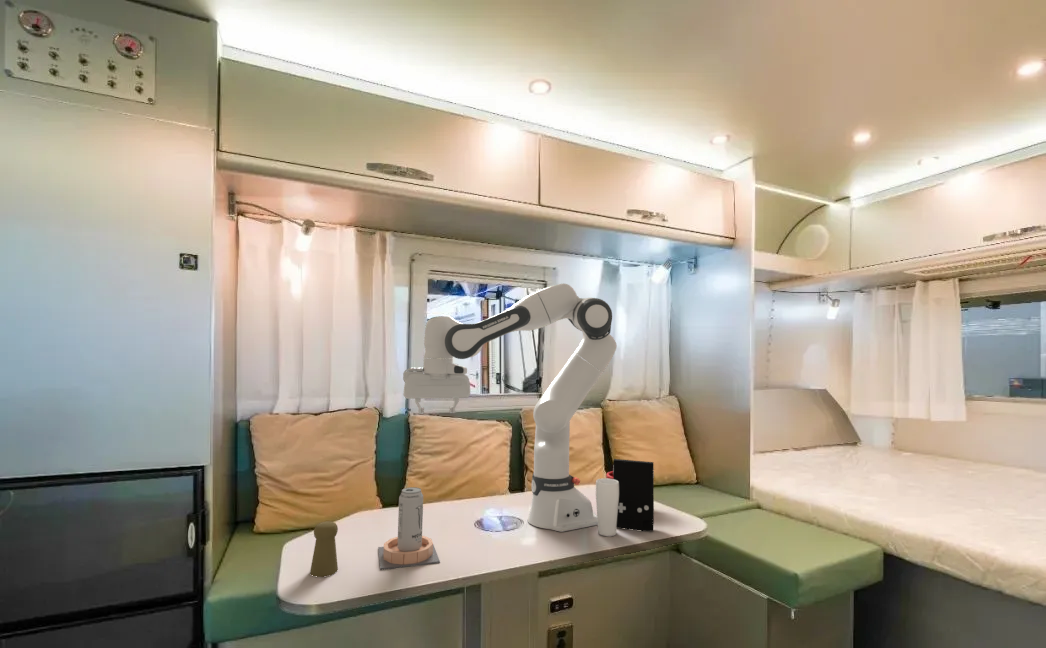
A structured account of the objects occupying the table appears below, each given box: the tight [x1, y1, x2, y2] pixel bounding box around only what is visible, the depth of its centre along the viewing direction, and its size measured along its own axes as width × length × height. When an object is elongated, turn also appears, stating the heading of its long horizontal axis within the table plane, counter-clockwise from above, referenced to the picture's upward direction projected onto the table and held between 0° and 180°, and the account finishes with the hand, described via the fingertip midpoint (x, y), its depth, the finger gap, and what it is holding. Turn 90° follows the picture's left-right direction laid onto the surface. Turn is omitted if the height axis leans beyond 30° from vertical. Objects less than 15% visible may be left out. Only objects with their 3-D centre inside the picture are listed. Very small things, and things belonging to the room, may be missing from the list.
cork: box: [309, 521, 339, 578], centre depth 112 cm, size 6×6×11 cm
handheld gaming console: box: [612, 458, 655, 532], centre depth 145 cm, size 12×5×20 cm, turn 72°
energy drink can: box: [397, 486, 424, 552], centre depth 122 cm, size 6×6×15 cm
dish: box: [377, 535, 441, 571], centre depth 121 cm, size 14×13×3 cm
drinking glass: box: [595, 477, 619, 537], centre depth 139 cm, size 7×7×15 cm
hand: (436, 413), depth 147 cm, fingers open, 8 cm apart
